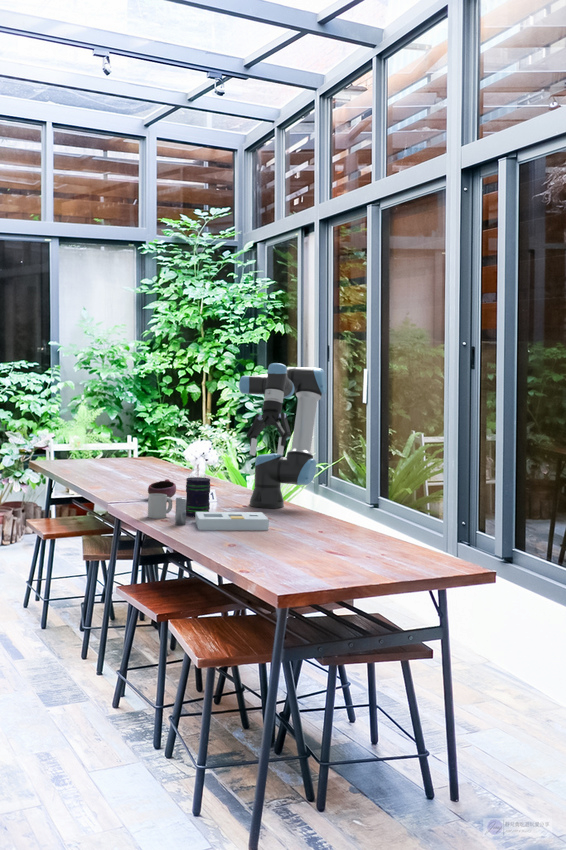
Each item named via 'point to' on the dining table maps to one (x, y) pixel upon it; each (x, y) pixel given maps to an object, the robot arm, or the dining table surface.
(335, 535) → the dining table surface
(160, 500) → the cup
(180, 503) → the grey rounded cylinder
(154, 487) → the bowl
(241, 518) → the block
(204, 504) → the storage jar
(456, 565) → the dining table surface
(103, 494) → the dining table surface
